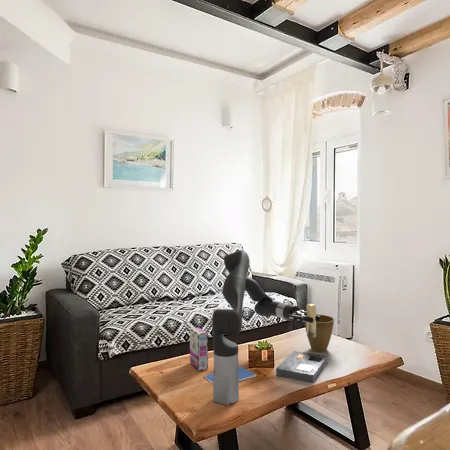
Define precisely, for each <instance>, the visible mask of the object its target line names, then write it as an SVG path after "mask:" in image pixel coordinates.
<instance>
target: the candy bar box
mask: <svg viewBox="0 0 450 450" xmlns="http://www.w3.org/2000/svg"><path fill="white" fill-rule="evenodd" d="M208 335H209V333H208V332H207V331H205V330H204V329H202V328H201V327H200V326H199V327H190V328H189V363H190V362H191V363H192V364H193V365H194V366H195V367H196V368H197V369H198V370H201V371H204V370H203V369H207V370H208V369H209V366H208V365H209V362H208V361H209V358H208V357H209V349H208V347H209V346H208V343H209V342H208V339H209V338H208V337H209V336H208ZM191 363H190V364H191ZM192 364H191V365H192ZM193 365H192V366H193ZM194 366H193V367H194ZM195 367H194V368H195ZM196 368H195V369H196ZM197 369H196V370H197ZM198 370H197V371H198Z"/></svg>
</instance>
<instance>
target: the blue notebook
mask: <svg viewBox="0 0 450 450" xmlns="http://www.w3.org/2000/svg"><path fill="white" fill-rule="evenodd" d="M238 370H239V382H241V381H242V380H243V381H245V380H248V379H252V378H256V377H257V374H255V373H254V372H252V371H250V370H248V369H246V368H244V367H243V366H240V365H238ZM213 376H214V372H213V373H209V374H206V375H204V376H203V378H204V377H205V378H207V379H208V380H209V381H210V383H211V382H212V383H213ZM205 378H204V379H205ZM208 380H207V381H208ZM209 381H208V382H209ZM212 383H211V384H212Z"/></svg>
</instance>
